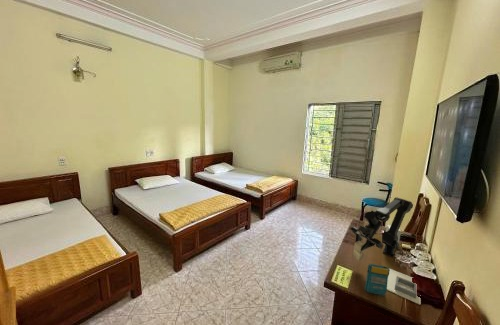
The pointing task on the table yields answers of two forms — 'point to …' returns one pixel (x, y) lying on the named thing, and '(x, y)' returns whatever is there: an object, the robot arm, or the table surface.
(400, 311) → the table surface
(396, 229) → the robot arm
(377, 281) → the handheld gaming console
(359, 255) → the birch post
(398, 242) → the supplement box
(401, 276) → the pocket board
